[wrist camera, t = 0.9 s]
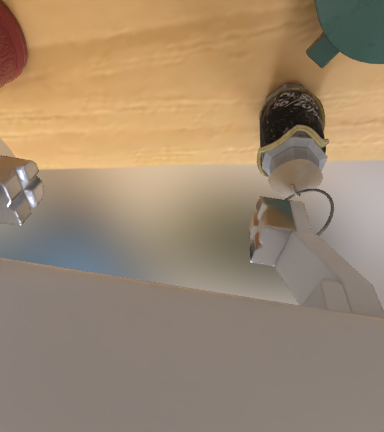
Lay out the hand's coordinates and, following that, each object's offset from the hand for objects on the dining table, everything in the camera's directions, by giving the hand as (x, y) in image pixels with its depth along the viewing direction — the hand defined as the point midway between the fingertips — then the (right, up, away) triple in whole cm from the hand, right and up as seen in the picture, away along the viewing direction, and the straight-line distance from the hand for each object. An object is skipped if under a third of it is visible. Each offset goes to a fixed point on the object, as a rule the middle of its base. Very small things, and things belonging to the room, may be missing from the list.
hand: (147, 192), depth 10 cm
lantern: (+16, +15, +31) cm, 38 cm away
